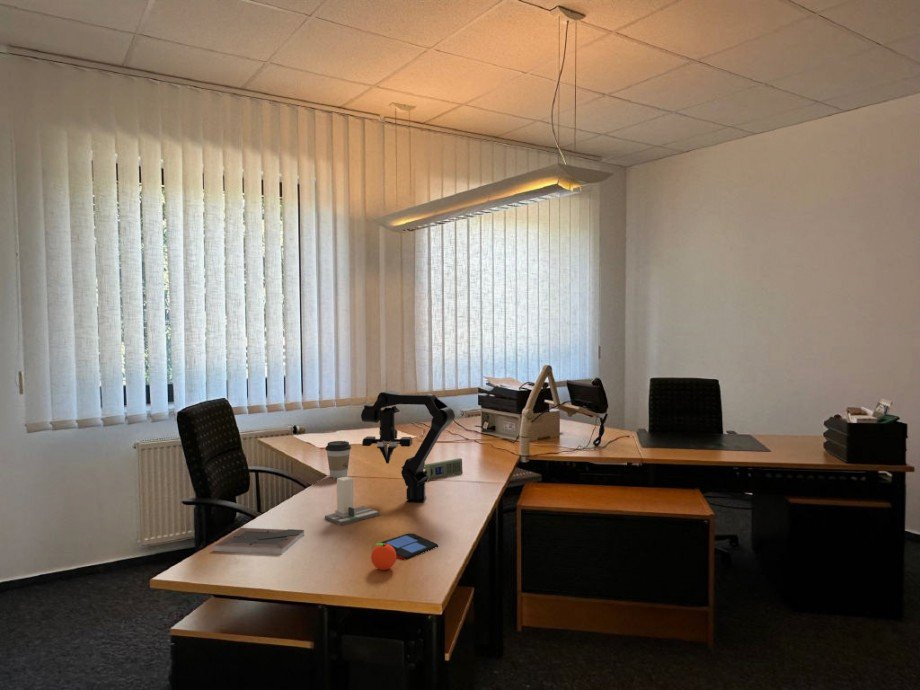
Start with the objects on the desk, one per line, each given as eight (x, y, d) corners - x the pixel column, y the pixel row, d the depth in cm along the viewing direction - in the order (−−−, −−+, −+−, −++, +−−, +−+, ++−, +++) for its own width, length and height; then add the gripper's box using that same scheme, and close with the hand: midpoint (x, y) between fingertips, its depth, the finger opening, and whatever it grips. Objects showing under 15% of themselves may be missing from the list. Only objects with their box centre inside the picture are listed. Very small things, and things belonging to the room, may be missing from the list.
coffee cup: (346, 480, 268) (345, 445, 268) (321, 479, 271) (320, 444, 270) (355, 473, 279) (355, 440, 279) (331, 472, 282) (331, 440, 281)
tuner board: (363, 508, 227) (363, 505, 227) (379, 514, 220) (379, 511, 220) (324, 518, 216) (324, 515, 216) (340, 525, 209) (340, 521, 209)
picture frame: (304, 537, 199) (241, 534, 203) (304, 529, 199) (240, 526, 203) (282, 556, 183) (213, 553, 186) (282, 548, 183) (213, 545, 186)
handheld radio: (463, 473, 280) (418, 482, 264) (459, 472, 282) (413, 481, 267) (463, 458, 280) (417, 467, 264) (458, 457, 282) (413, 466, 267)
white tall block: (347, 511, 219) (347, 476, 219) (359, 516, 214) (358, 479, 214) (335, 514, 216) (334, 478, 216) (347, 519, 211) (346, 482, 210)
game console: (404, 562, 178) (404, 554, 178) (375, 551, 186) (375, 543, 186) (439, 548, 188) (439, 540, 188) (410, 538, 197) (410, 531, 197)
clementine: (362, 569, 171) (362, 544, 171) (379, 561, 177) (379, 536, 177) (385, 576, 167) (384, 550, 166) (401, 567, 172) (401, 542, 172)
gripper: (414, 420, 249) (415, 459, 249) (368, 420, 251) (369, 458, 251) (409, 425, 238) (409, 465, 238) (361, 424, 240) (362, 464, 240)
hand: (387, 463), depth 242 cm, fingers closed
